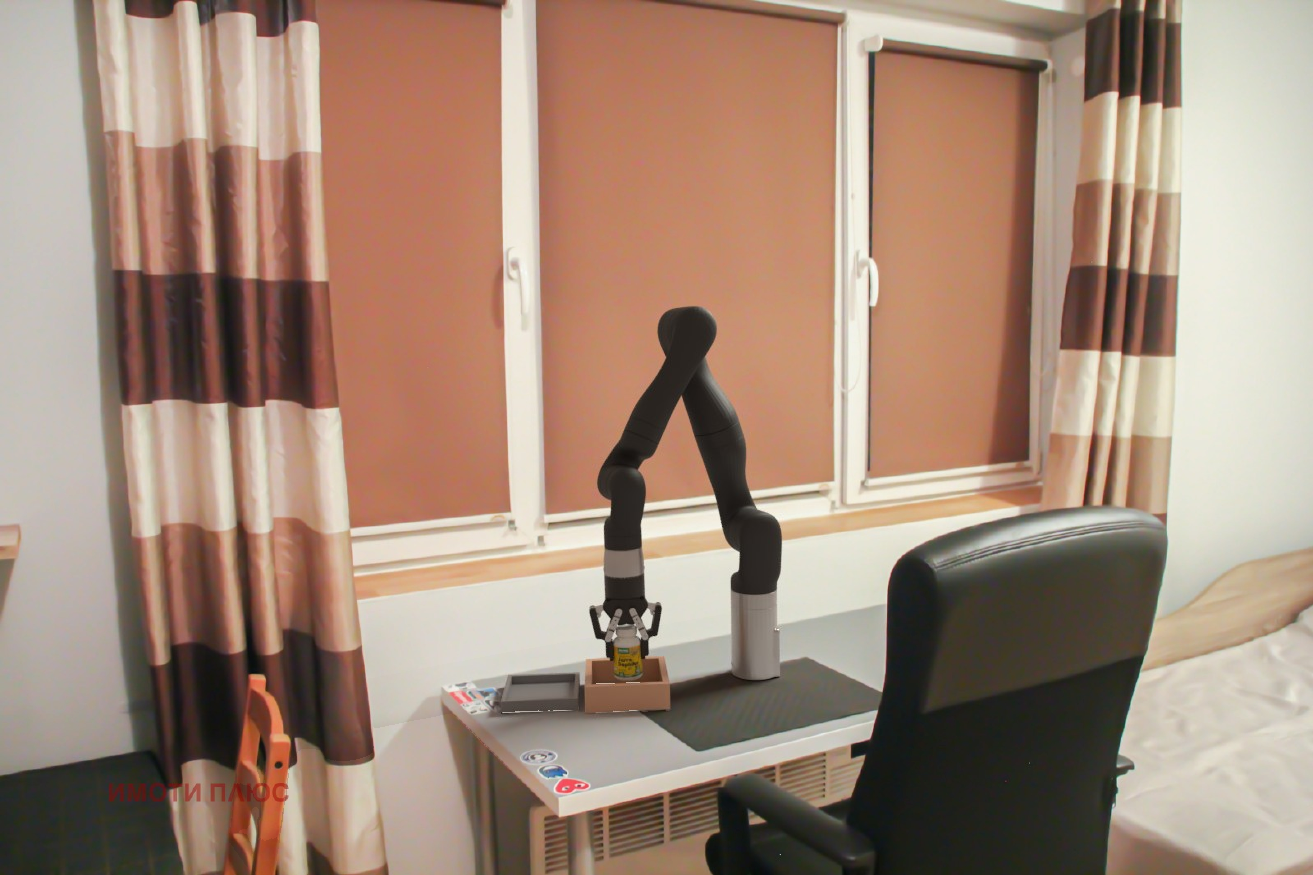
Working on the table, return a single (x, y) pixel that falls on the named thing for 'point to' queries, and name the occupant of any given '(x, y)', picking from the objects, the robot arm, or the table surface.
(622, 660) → the supplement bottle
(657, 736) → the table surface
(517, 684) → the tray
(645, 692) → the box
